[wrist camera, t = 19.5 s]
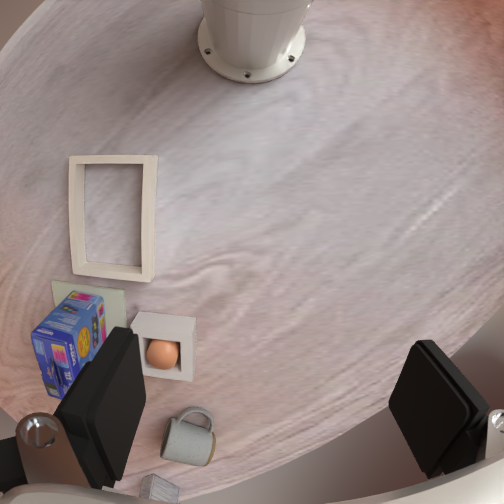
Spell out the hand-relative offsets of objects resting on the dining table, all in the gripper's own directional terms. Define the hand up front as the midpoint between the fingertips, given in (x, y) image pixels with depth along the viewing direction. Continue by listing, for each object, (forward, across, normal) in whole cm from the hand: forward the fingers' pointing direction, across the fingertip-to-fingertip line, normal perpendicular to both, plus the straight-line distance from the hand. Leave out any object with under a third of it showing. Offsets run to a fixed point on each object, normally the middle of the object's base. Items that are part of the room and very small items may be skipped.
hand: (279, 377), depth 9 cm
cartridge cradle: (+28, +17, +1) cm, 33 cm away
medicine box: (+29, +15, +61) cm, 69 cm away
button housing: (+28, +10, +18) cm, 35 cm away
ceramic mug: (+29, +7, +36) cm, 47 cm away
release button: (+28, +10, +18) cm, 35 cm away
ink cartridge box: (+28, +22, +17) cm, 39 cm away
